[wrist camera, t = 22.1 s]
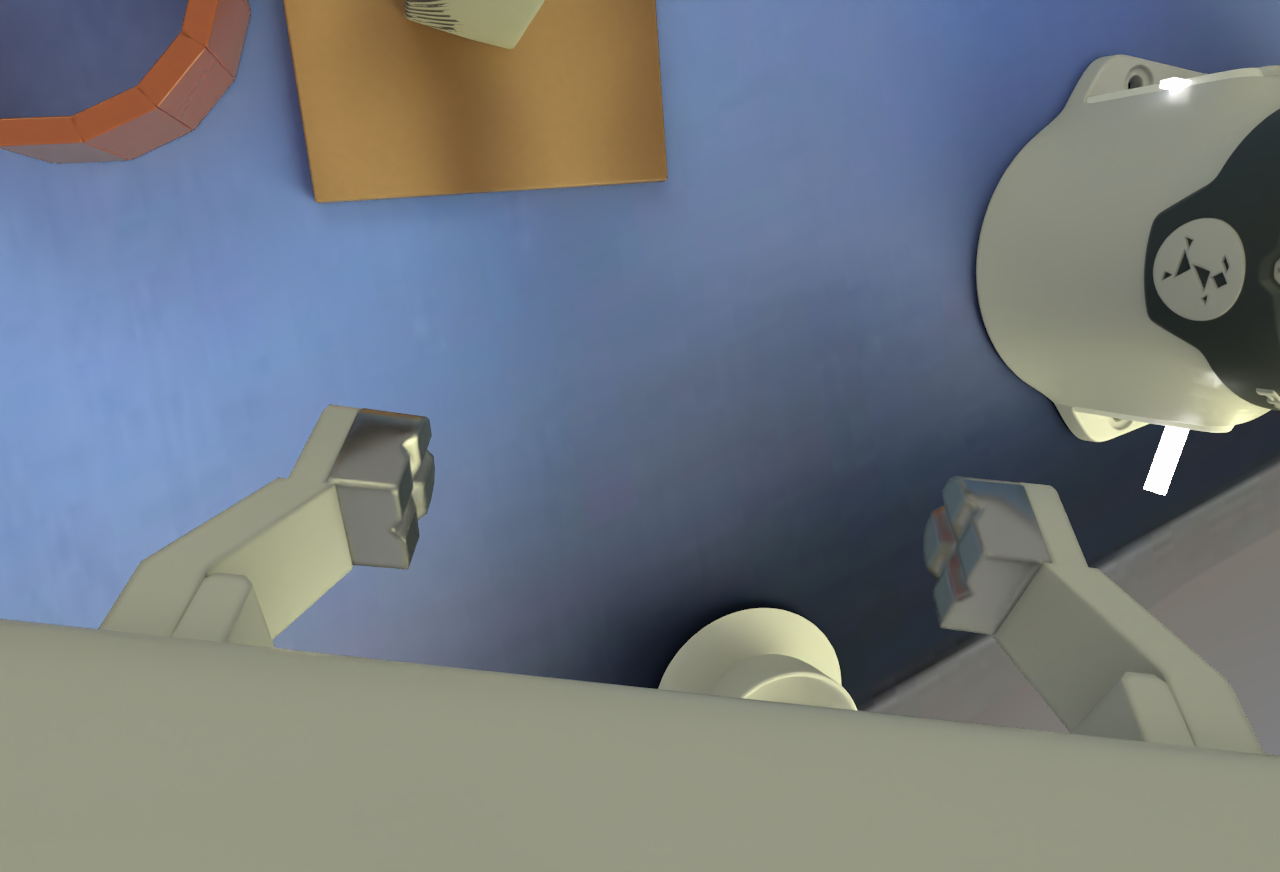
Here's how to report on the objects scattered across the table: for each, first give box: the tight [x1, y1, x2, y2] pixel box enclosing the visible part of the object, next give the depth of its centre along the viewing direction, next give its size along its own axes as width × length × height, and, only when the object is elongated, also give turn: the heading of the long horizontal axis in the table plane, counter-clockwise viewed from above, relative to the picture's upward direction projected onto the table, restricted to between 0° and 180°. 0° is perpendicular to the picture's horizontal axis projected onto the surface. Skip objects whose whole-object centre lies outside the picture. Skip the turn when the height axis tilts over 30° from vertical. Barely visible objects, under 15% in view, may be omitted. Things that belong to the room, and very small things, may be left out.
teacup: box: [658, 608, 857, 710], centre depth 40 cm, size 10×10×5 cm
